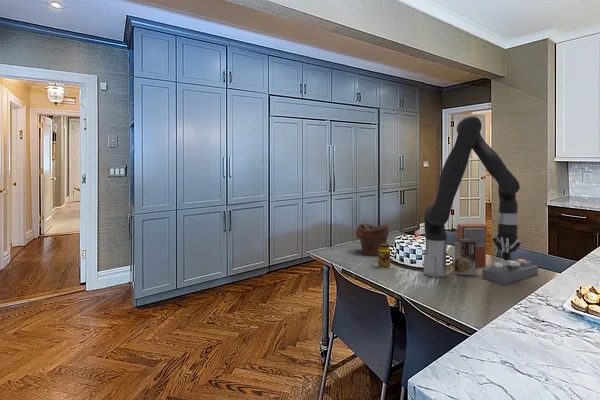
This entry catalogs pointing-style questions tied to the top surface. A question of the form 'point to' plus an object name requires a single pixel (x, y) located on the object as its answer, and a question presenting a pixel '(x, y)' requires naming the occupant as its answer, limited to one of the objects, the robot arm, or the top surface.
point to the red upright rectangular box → (477, 234)
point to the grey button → (498, 265)
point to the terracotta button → (522, 260)
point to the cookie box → (465, 256)
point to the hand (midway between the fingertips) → (506, 260)
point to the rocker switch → (511, 263)
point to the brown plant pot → (372, 237)
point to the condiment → (383, 256)
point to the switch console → (510, 272)
